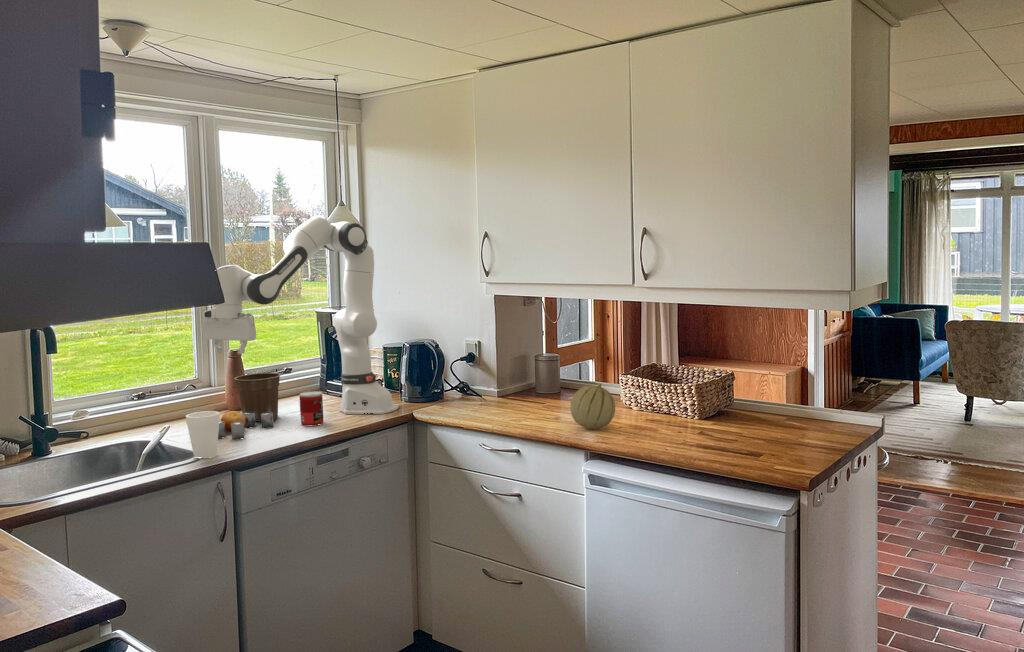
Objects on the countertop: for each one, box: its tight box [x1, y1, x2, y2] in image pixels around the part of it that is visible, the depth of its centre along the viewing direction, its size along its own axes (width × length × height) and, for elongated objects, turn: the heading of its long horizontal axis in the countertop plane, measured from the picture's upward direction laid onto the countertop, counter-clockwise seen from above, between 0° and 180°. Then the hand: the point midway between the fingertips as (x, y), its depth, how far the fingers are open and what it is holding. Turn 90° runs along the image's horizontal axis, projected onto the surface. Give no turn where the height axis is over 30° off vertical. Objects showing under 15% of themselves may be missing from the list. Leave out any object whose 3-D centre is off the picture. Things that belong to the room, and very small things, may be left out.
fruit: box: [220, 410, 246, 434], centre depth 269 cm, size 8×8×8 cm
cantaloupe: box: [569, 382, 616, 430], centre depth 257 cm, size 15×15×15 cm
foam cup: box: [185, 410, 221, 459], centre depth 236 cm, size 10×9×13 cm
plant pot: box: [233, 372, 282, 423], centre depth 287 cm, size 16×16×16 cm
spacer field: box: [218, 410, 275, 440], centre depth 268 cm, size 17×20×5 cm
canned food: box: [299, 391, 324, 426], centre depth 277 cm, size 8×8×11 cm
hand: (229, 353), depth 267 cm, fingers open, 8 cm apart
